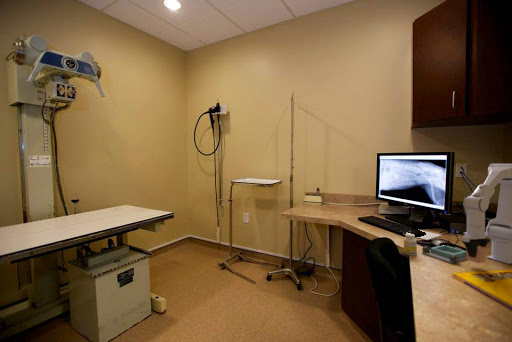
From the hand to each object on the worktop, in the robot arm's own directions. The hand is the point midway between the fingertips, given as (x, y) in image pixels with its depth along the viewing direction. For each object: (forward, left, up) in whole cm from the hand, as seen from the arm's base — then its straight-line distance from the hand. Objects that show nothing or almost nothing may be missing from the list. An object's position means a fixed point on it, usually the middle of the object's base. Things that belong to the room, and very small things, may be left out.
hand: (475, 255), depth 102 cm
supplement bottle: (+10, -22, -5) cm, 25 cm away
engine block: (0, 0, -2) cm, 2 cm away
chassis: (-4, -13, -5) cm, 14 cm away
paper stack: (-20, -34, -6) cm, 40 cm away
